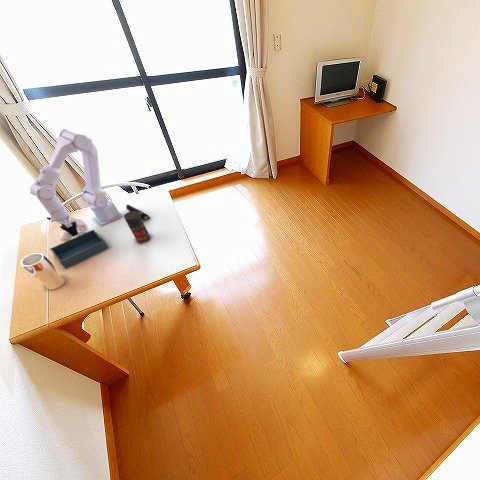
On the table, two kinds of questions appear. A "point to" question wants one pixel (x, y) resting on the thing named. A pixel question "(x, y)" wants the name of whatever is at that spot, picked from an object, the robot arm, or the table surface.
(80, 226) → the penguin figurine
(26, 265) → the beige tall cylinder
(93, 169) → the robot arm
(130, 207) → the electric trimmer
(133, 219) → the deodorant
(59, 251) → the bin
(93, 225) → the table surface
